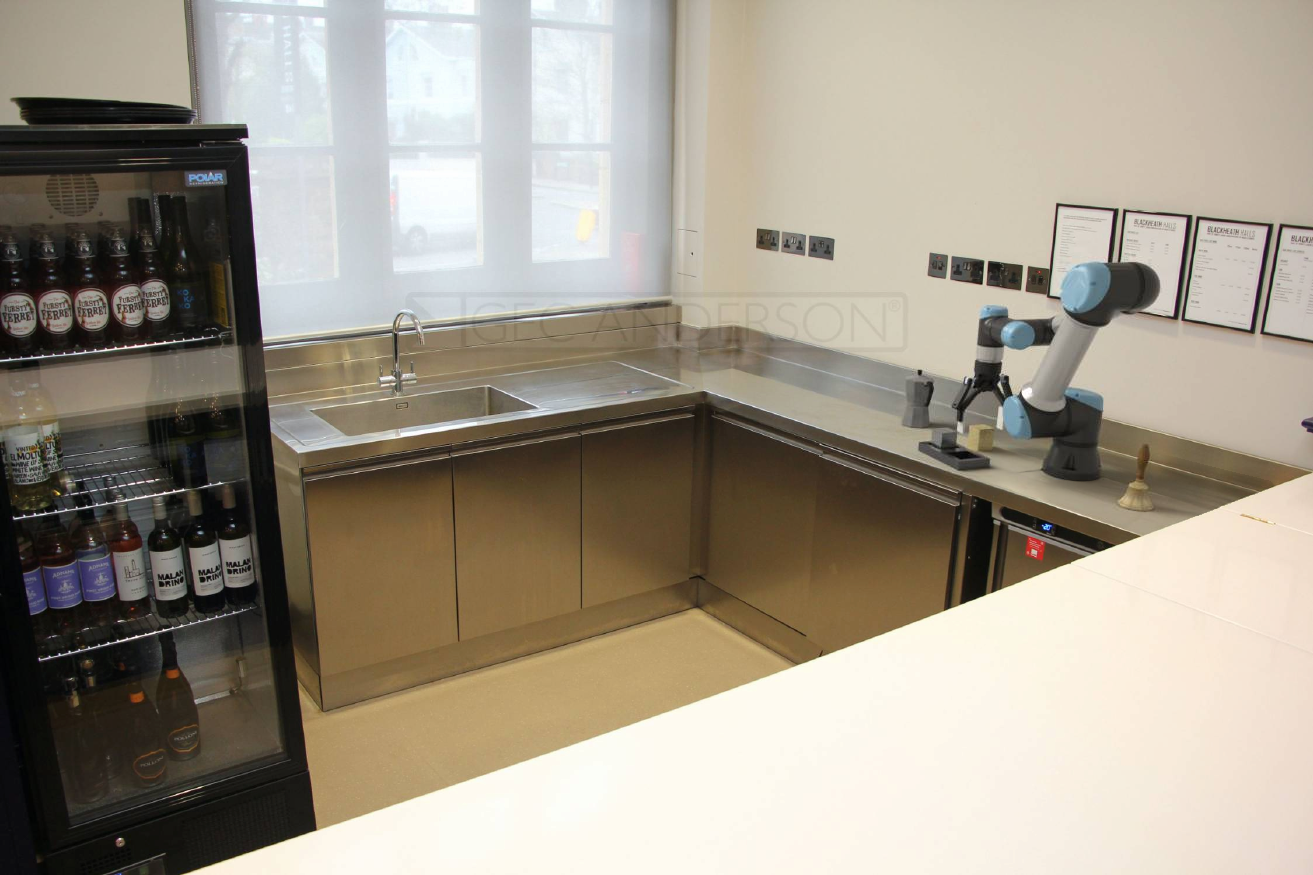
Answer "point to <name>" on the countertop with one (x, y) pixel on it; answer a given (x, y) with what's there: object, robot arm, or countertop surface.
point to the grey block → (943, 438)
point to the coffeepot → (917, 400)
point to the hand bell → (1138, 486)
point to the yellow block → (981, 437)
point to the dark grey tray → (955, 456)
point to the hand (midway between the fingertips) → (980, 430)
